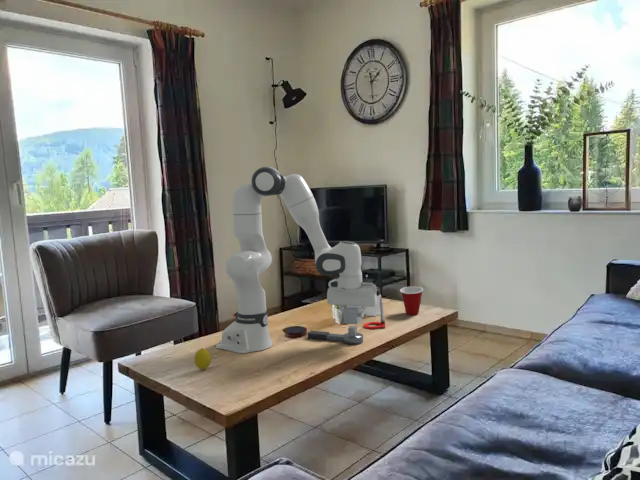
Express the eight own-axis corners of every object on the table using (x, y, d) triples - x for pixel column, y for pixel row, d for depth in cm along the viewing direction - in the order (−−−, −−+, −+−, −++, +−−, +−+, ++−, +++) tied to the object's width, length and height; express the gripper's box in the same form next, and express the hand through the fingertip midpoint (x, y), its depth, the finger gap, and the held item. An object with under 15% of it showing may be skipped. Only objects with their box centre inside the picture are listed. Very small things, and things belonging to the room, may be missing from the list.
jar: (383, 315, 237) (382, 290, 235) (367, 317, 235) (366, 292, 234) (377, 310, 246) (376, 286, 244) (361, 312, 244) (360, 288, 242)
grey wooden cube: (343, 323, 199) (342, 308, 198) (348, 319, 204) (347, 304, 203) (357, 324, 196) (356, 309, 196) (362, 320, 201) (361, 305, 201)
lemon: (192, 370, 177) (190, 348, 176) (206, 366, 181) (204, 344, 180) (200, 374, 173) (199, 352, 172) (214, 369, 177) (213, 347, 176)
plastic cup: (396, 315, 237) (395, 289, 235) (406, 309, 245) (406, 285, 244) (417, 318, 230) (416, 292, 229) (427, 312, 239) (427, 287, 237)
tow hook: (364, 330, 216) (385, 329, 216) (361, 301, 215) (383, 299, 214) (363, 325, 225) (384, 323, 224) (361, 296, 223) (382, 295, 223)
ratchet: (305, 340, 205) (305, 326, 204) (313, 334, 212) (313, 320, 212) (359, 345, 196) (358, 330, 195) (365, 339, 203) (365, 324, 202)
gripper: (378, 281, 197) (380, 315, 199) (330, 279, 205) (332, 312, 207) (374, 284, 191) (375, 320, 193) (324, 282, 199) (326, 316, 201)
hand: (352, 316), depth 200 cm, fingers closed on grey wooden cube, 6 cm apart
